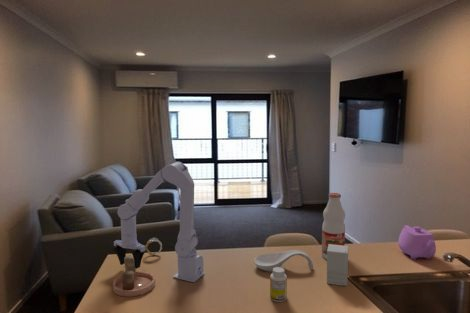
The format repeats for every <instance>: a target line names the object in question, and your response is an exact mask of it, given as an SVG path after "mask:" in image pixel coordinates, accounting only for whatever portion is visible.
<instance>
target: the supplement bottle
mask: <svg viewBox="0 0 470 313" xmlns="http://www.w3.org/2000/svg"><path fill="white" fill-rule="evenodd" d="M271 272H272V273H271V274H270V275H269V276H270V277H269V278H270V279H269V280H270V281H269V283H270V284H269V292H270V293H269V295H270V296H269V297H270V299H271V300H272V301H274V302H277V303H281V302H284V301H286V300H287V298H288V296H287V295H288V293H287V292H288V289H287V288H288V285H287V284H288V283H287V282H288V276H287V274H286V273H285V268H284V267H282V266H280V267H275V268H273V271H271Z"/></svg>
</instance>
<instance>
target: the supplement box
mask: <svg viewBox="0 0 470 313" xmlns="http://www.w3.org/2000/svg"><path fill="white" fill-rule="evenodd" d="M348 272H349V246H348V245H344V246H342V245H333V244H328V249H327V259H326V284H327V285H329V284H330V285H335V284H336V285H337V286H342V285H345V286H344V287H347V286H348V275H349V274H348Z"/></svg>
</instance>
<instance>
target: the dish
mask: <svg viewBox="0 0 470 313" xmlns="http://www.w3.org/2000/svg"><path fill="white" fill-rule="evenodd" d="M155 287H156V276H155V275H154V274H152V273H151V272H147V271H134V288H133V289H132V290H123V288H122V274H121V275H120V276H118V277H117V278H115V279H114V280H113V282H112V290H113V293H114V294H115V295H117V296H120V297H124V298H125V297H126V298H128V297H129V298H130V297H131V298H132V297H138V296H143V295H144V294H147V293H149V292H150V291H152V290H153V289H154V288H155Z"/></svg>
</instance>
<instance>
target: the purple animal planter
mask: <svg viewBox="0 0 470 313" xmlns="http://www.w3.org/2000/svg"><path fill="white" fill-rule="evenodd" d="M398 247H399V249H400V250H401V253H402V254H405V255H409V258H410V259H411V260H417V259H418V258H423V259H427V260H430V259H431V257H434V256H435V254H436V251H437V249H436V248H437V246H436V242H435V237H434V235H433V233H432V232H430V231H428V230H427V229H425V228H422V227H420V226H418V225H417V226H412V227H411V226H409V225H403V228H402V229H401V232H400V234H399V237H398Z"/></svg>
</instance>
